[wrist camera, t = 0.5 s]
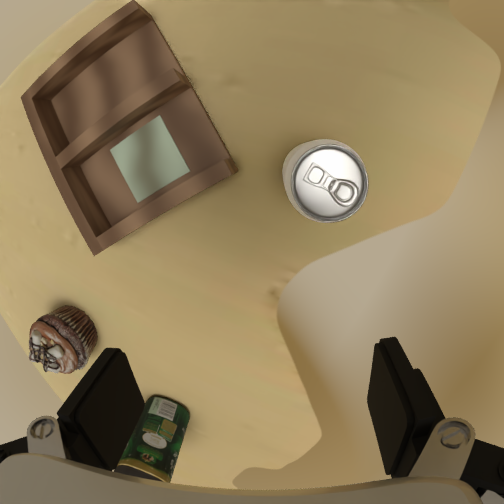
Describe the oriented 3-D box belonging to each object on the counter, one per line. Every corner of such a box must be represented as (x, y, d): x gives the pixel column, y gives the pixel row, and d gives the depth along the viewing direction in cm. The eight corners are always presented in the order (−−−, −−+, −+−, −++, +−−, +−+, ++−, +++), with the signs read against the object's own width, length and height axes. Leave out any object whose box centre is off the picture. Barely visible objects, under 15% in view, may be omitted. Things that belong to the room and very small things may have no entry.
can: (323, 212, 34) (345, 244, 22) (271, 183, 33) (267, 200, 22) (352, 161, 32) (389, 168, 20) (300, 131, 31) (312, 120, 20)
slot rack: (150, 14, 28) (133, -1, 23) (238, 171, 33) (232, 174, 28) (44, 99, 31) (20, 97, 27) (113, 243, 37) (94, 256, 32)
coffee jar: (181, 436, 48) (154, 521, 30) (140, 419, 47) (103, 500, 30) (197, 407, 45) (167, 504, 27) (150, 387, 44) (106, 479, 27)
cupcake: (54, 338, 44) (21, 372, 34) (52, 290, 40) (12, 321, 31) (101, 361, 44) (72, 401, 34) (103, 313, 41) (67, 352, 31)
